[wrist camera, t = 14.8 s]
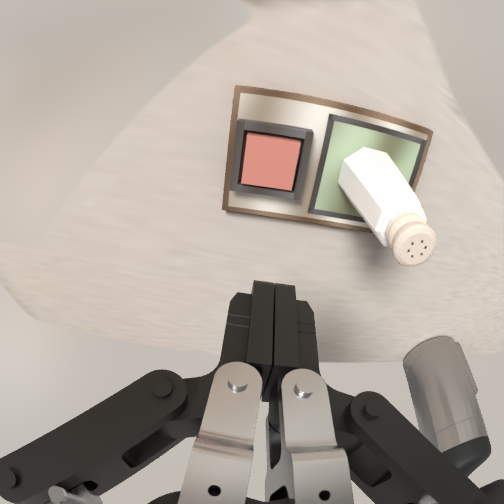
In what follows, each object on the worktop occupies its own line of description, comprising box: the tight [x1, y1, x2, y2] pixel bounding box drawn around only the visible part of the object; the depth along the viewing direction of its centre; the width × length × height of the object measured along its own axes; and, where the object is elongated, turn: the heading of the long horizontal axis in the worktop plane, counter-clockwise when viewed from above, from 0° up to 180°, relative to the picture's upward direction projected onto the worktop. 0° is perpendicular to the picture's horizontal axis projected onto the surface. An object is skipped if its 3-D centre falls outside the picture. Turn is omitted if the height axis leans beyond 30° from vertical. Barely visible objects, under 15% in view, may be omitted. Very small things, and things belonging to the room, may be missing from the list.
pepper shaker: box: [338, 147, 437, 267], centre depth 20 cm, size 5×5×11 cm
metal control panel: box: [222, 85, 433, 233], centre depth 24 cm, size 17×11×2 cm, turn 83°
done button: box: [241, 131, 301, 191], centre depth 23 cm, size 4×4×2 cm
